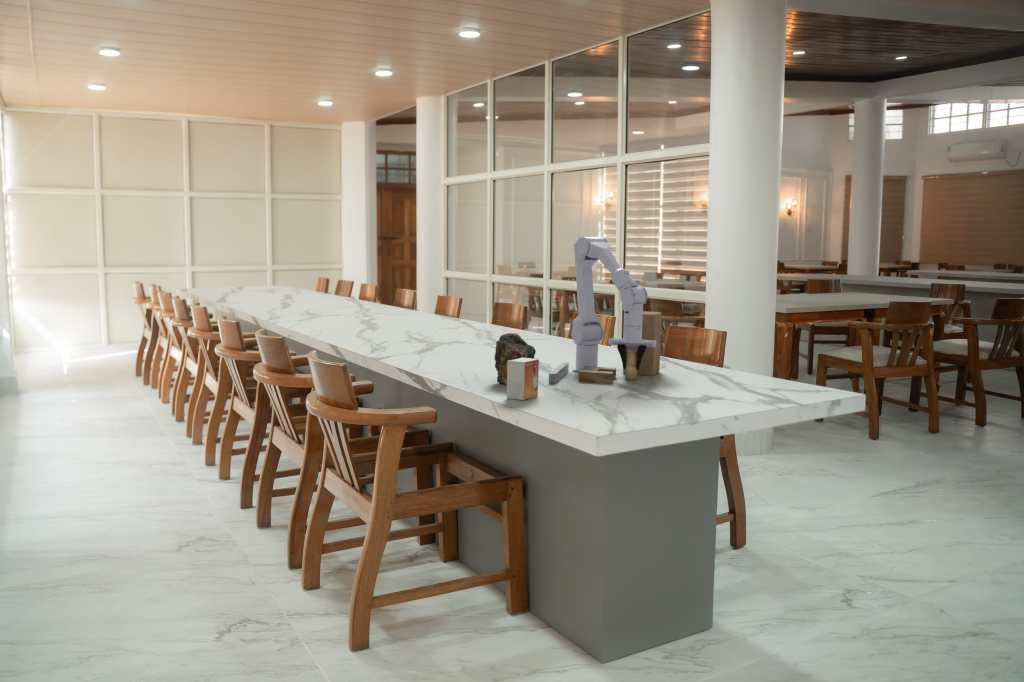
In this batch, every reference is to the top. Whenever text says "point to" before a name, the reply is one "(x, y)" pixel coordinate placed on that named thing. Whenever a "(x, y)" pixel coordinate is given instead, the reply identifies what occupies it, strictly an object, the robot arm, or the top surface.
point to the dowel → (631, 365)
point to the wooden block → (651, 354)
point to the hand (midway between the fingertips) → (631, 369)
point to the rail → (558, 373)
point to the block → (597, 374)
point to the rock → (510, 353)
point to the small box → (522, 378)
